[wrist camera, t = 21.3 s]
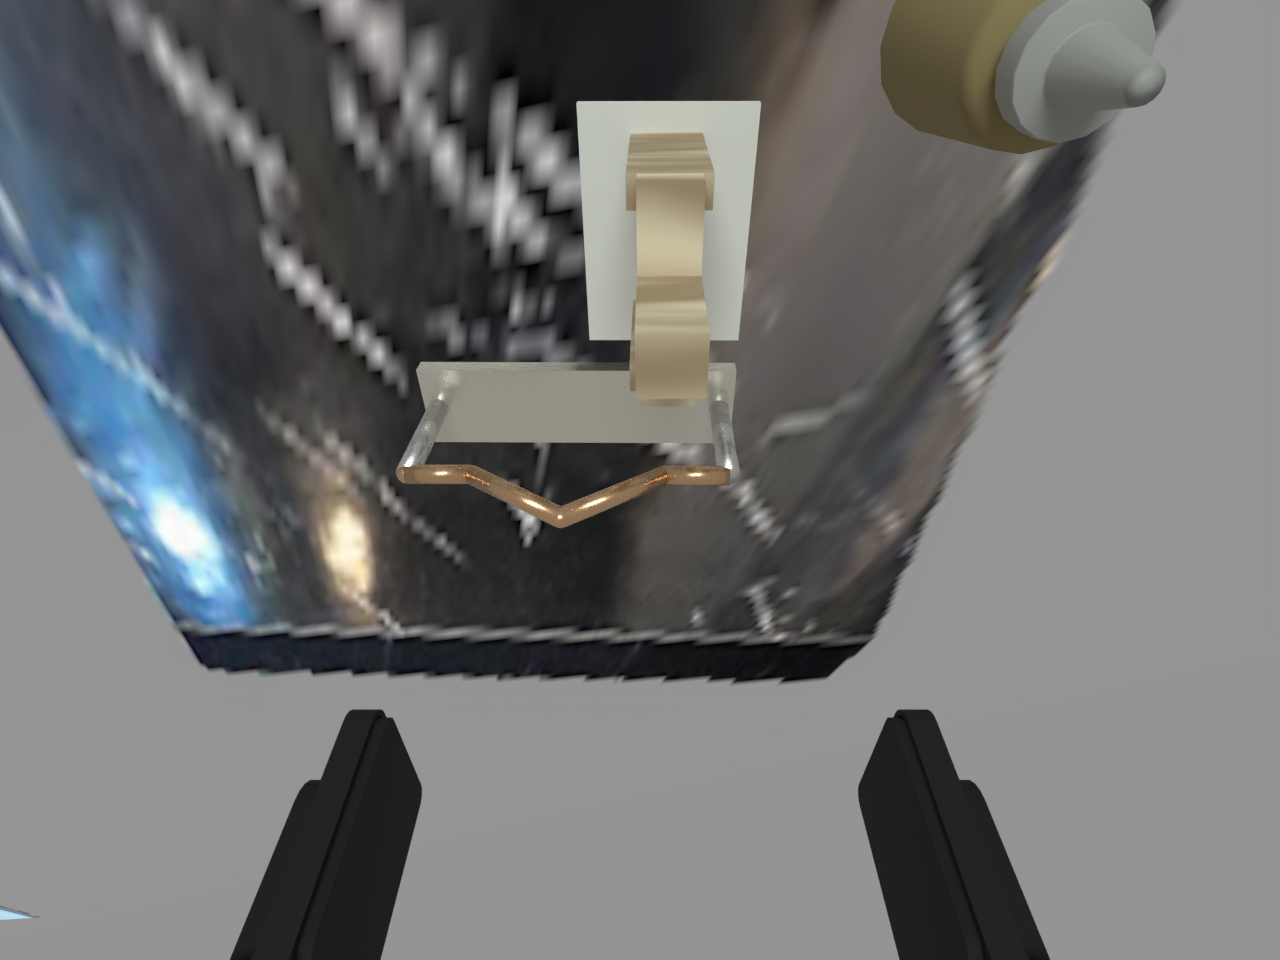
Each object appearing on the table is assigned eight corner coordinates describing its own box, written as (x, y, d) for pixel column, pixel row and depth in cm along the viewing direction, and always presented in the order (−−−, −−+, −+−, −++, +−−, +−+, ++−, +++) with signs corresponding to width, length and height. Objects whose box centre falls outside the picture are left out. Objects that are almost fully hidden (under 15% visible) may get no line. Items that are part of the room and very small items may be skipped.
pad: (577, 101, 36) (576, 103, 36) (759, 100, 36) (761, 102, 36) (590, 336, 45) (589, 340, 44) (737, 336, 45) (738, 340, 44)
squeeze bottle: (880, 148, 37) (1019, 261, 23) (842, -11, 33) (985, 9, 19) (1032, 76, 35) (1287, 153, 21) (1012, -105, 31) (1320, -163, 17)
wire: (420, 361, 46) (351, 482, 36) (734, 362, 46) (760, 484, 35) (437, 432, 50) (379, 561, 39) (728, 434, 50) (749, 563, 39)
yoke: (630, 132, 37) (618, 227, 24) (702, 132, 37) (731, 226, 23) (633, 321, 44) (625, 475, 30) (694, 321, 43) (712, 475, 30)
